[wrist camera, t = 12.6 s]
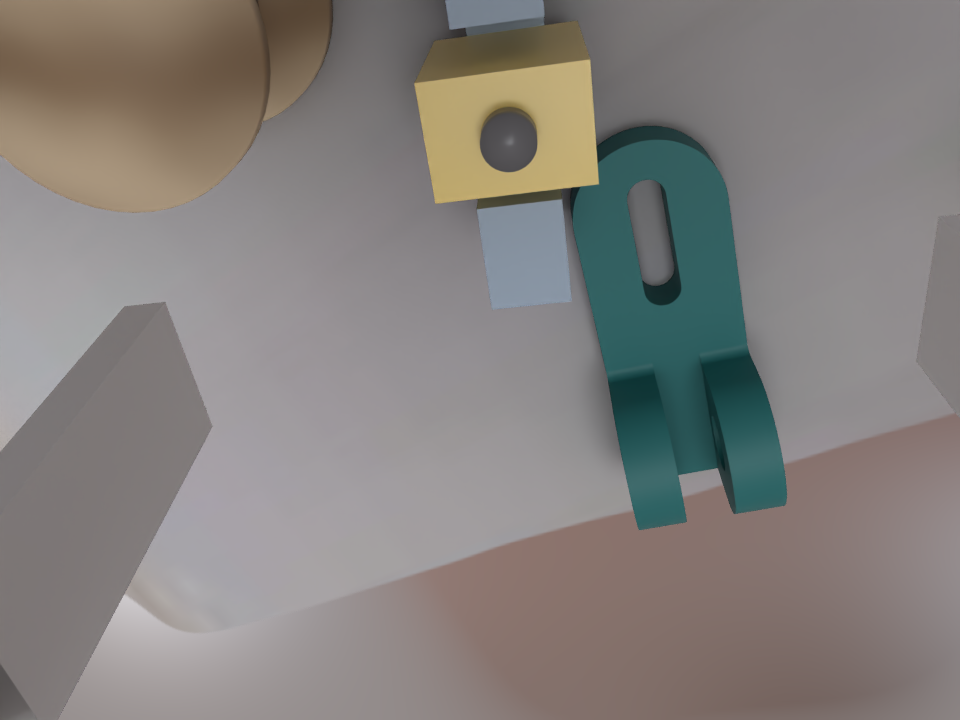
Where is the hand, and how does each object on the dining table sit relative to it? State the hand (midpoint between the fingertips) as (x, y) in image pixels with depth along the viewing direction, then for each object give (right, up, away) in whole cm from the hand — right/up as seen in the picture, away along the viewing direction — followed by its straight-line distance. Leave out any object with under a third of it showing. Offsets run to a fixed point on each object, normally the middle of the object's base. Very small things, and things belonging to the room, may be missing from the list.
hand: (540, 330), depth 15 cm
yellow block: (0, +10, +18) cm, 21 cm away
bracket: (+8, +2, +27) cm, 28 cm away
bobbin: (-12, +14, +20) cm, 27 cm away
